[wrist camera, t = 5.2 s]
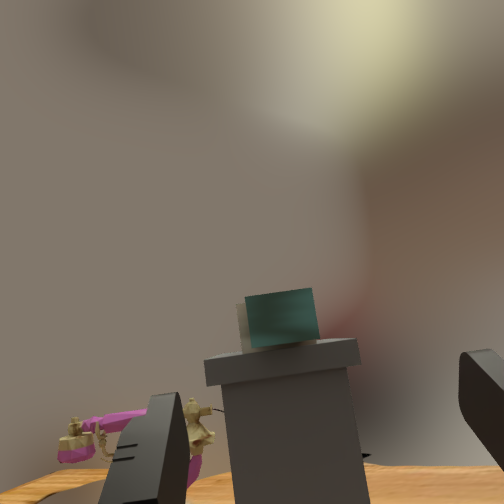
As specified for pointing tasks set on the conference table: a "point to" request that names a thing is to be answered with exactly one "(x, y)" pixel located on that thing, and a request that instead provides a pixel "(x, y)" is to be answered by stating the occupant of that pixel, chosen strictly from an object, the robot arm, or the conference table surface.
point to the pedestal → (292, 424)
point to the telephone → (83, 443)
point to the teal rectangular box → (277, 321)
